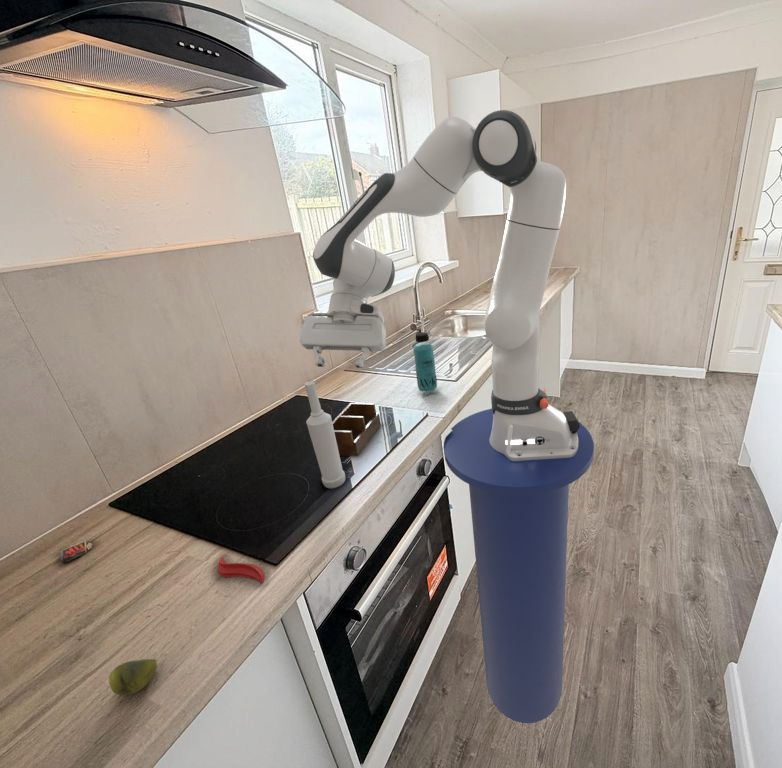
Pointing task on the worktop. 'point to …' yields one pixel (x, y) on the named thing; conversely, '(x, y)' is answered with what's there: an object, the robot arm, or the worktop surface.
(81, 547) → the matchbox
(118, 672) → the olive green oval lump
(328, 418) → the bottle
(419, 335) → the beverage bottle
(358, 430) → the box
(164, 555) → the worktop surface
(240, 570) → the cayenne pepper
